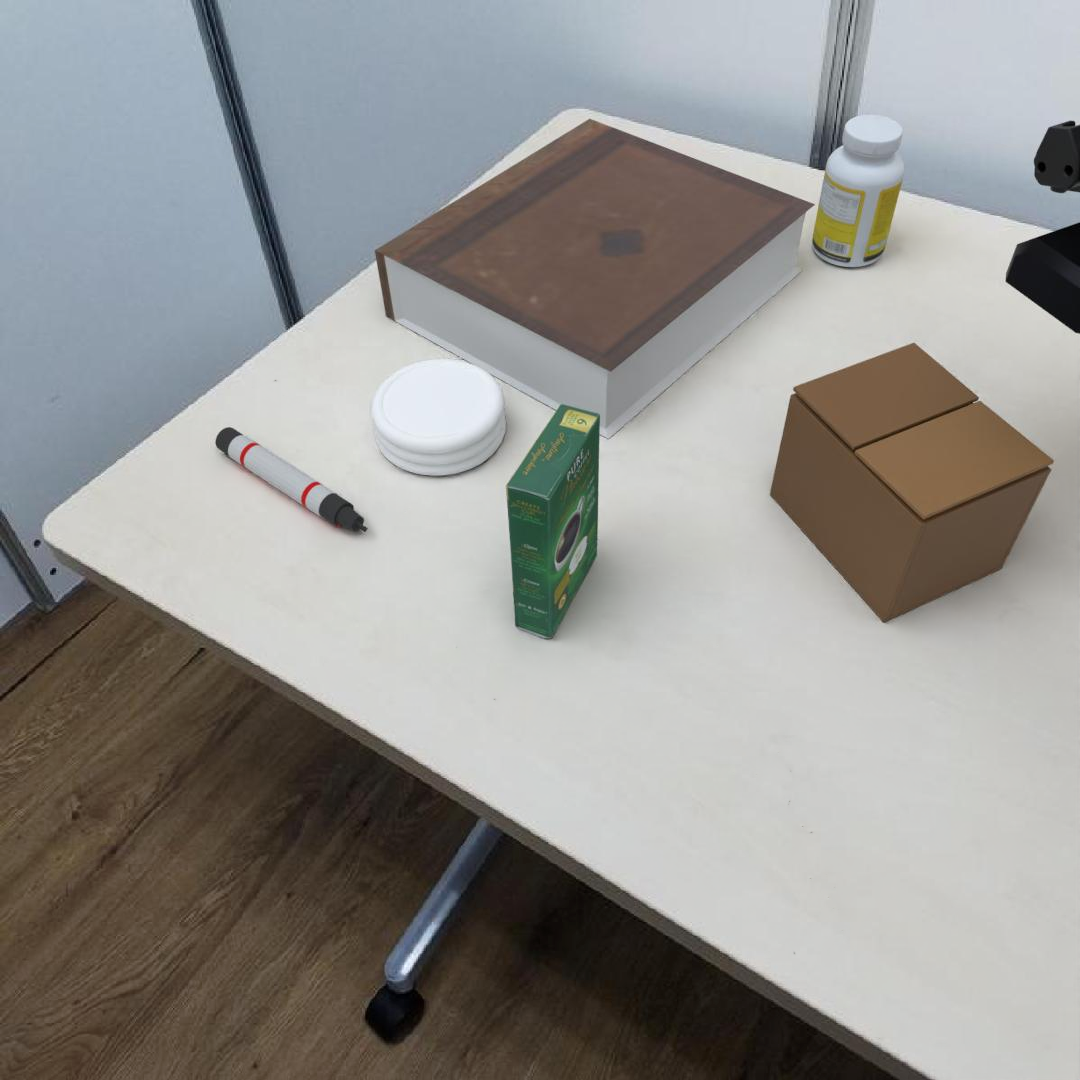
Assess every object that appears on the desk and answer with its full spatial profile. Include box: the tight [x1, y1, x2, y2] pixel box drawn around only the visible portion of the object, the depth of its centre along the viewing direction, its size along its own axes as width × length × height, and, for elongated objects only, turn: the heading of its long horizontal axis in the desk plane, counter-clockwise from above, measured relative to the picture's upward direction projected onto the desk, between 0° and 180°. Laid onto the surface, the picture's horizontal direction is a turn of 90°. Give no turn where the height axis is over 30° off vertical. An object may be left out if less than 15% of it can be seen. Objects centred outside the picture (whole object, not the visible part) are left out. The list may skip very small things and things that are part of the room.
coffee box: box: [505, 404, 600, 639], centre depth 63 cm, size 8×3×13 cm, turn 155°
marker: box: [214, 426, 369, 533], centre depth 73 cm, size 15×2×2 cm, turn 51°
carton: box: [769, 342, 1052, 623], centre depth 66 cm, size 13×10×10 cm
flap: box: [855, 400, 1055, 519], centre depth 61 cm, size 6×10×1 cm, turn 116°
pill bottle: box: [811, 114, 906, 268], centre depth 88 cm, size 6×6×12 cm
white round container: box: [369, 358, 507, 476], centre depth 76 cm, size 10×10×4 cm
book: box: [374, 118, 816, 440], centre depth 87 cm, size 24×28×7 cm
